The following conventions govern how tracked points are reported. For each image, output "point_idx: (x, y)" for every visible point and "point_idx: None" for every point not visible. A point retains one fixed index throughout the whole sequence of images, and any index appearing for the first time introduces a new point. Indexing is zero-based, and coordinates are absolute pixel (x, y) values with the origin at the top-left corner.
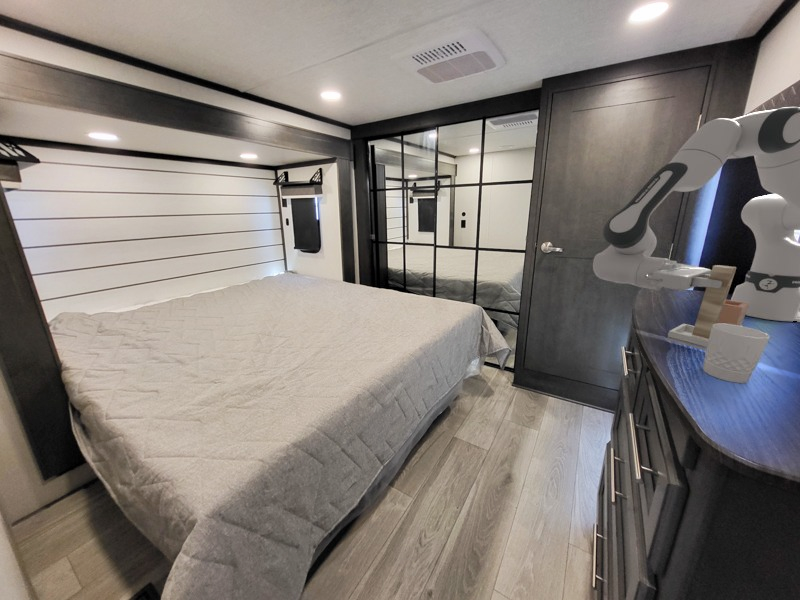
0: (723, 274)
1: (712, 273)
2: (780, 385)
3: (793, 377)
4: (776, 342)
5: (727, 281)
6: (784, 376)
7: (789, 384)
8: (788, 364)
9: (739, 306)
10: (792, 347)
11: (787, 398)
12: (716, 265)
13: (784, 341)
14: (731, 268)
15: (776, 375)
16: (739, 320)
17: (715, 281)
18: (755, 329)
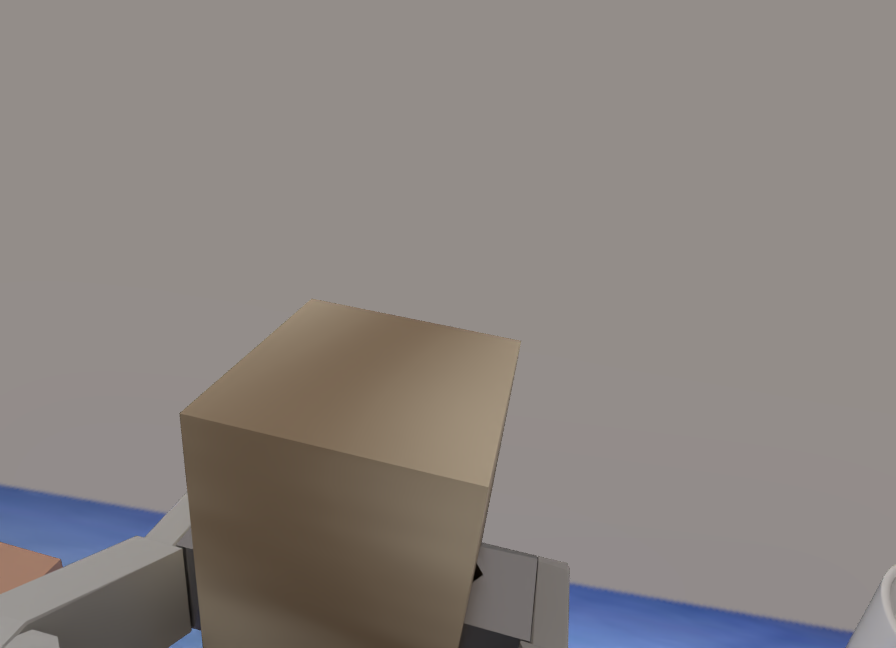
0: (493, 476)
1: (465, 586)
2: (728, 637)
3: (578, 584)
4: (63, 542)
5: (488, 506)
6: (598, 607)
7: (679, 609)
8: None
9: (18, 571)
10: (127, 509)
11: (844, 641)
12: (282, 430)
13: (28, 513)
14: (514, 349)
15: (616, 629)
16: None
17: (565, 622)
18: (886, 590)
